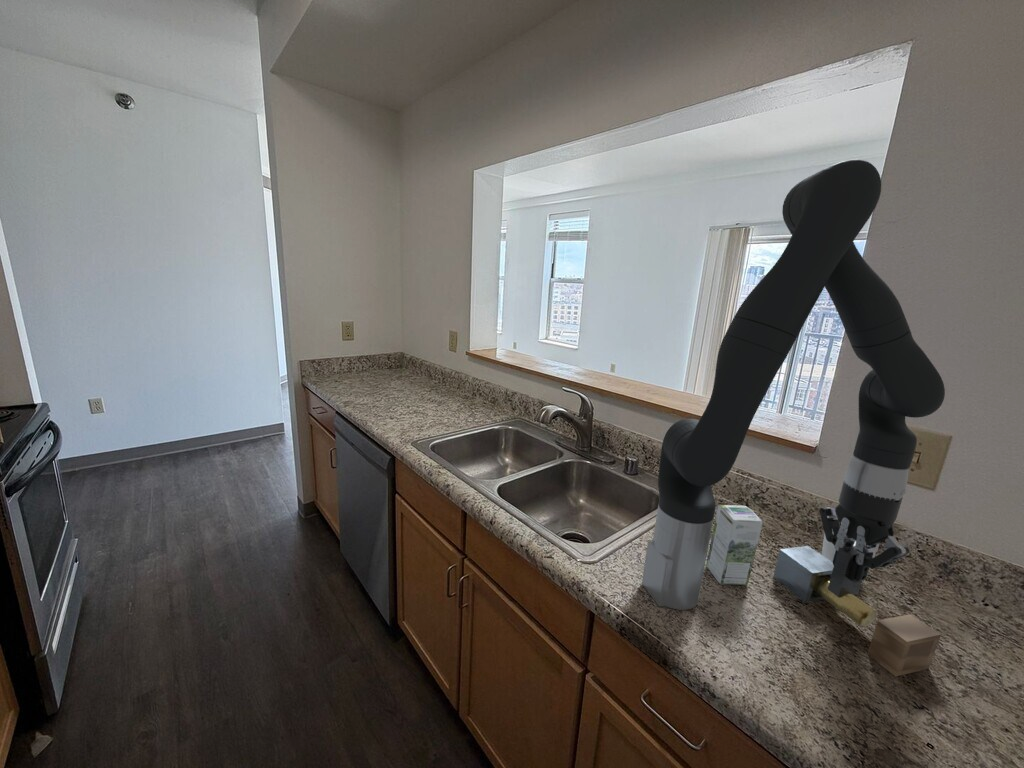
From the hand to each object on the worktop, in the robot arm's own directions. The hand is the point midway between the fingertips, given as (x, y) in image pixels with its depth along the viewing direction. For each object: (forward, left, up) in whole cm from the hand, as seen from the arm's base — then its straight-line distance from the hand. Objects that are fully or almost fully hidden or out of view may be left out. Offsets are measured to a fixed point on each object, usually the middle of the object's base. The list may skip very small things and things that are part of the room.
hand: (847, 575), depth 72 cm
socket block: (0, -10, -8) cm, 13 cm away
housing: (0, +7, -8) cm, 10 cm away
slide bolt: (0, +2, -7) cm, 7 cm away
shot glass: (+13, +10, -8) cm, 19 cm away
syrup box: (-13, +12, -8) cm, 20 cm away
